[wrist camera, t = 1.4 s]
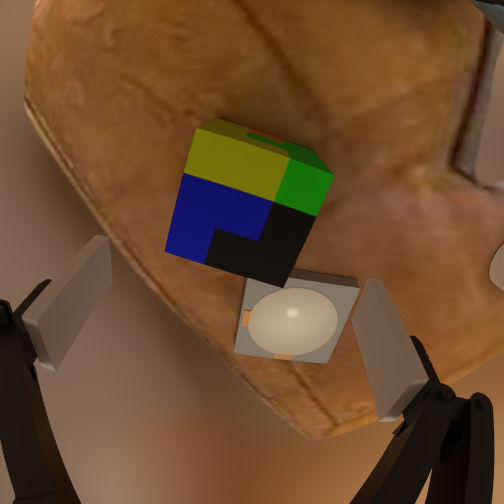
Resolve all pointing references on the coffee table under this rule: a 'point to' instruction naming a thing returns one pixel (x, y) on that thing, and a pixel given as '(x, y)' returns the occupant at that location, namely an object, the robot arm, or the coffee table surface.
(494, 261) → the cup
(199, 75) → the coffee table surface
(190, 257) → the puzzle toy
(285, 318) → the plinth
